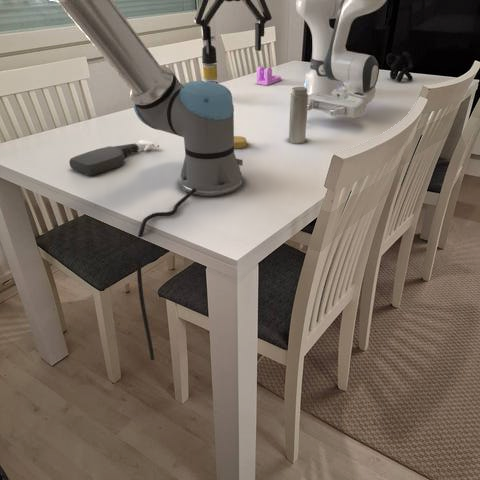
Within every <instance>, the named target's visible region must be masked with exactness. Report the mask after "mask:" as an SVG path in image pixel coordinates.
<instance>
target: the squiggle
mask: <svg viewBox="0 0 480 480" xmlns="http://www.w3.org/2000/svg"><path fill="white" fill-rule="evenodd" d="M401 57H402V59H401ZM391 59H392V60H391ZM393 60H394V61H393ZM385 61H386V64H387V67H390V68H391V70H390V72H389V78H390V79H391V80H395V79H396V81H397V82H399V83H400V82H402V81H403V79H404V76H406V78H407V80H408V81H412V80H413V79H414V77H413V75H412V74H411V73H410V72H409V71H410V70H412V69H413V68H414V64H413V61H412V57H411V54H410V53H409V52H408V51H403V53H402V54H401V55H396V54H394V53H392V52H390V53H387V55H386V57H385ZM406 62H407V65H408V66H407V67H405V66H404V65H405V64H406ZM400 70H401V71H400Z"/></svg>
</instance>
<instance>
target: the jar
mask: <svg viewBox="0 0 480 480" xmlns="http://www.w3.org/2000/svg"><path fill="white" fill-rule="evenodd" d="M307 106H308V93H307V88H305V86H294V87H291V93H290V102H289V124H288V125H289V126H288V142H289V143H291V144H304V143H305V142H306V136H307V122H308V121H307V120H308V110H307Z"/></svg>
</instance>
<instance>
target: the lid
mask: <svg viewBox="0 0 480 480" xmlns="http://www.w3.org/2000/svg"><path fill="white" fill-rule="evenodd" d="M247 144H248V143H247V138H246V137H244V136H241V135H240V136H239V135H236V136H235V135H234V149H243V148H245V147H247Z"/></svg>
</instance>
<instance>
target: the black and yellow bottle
mask: <svg viewBox="0 0 480 480" xmlns="http://www.w3.org/2000/svg"><path fill="white" fill-rule="evenodd" d="M207 26H210V23H209V24H208V25H207ZM211 48H212V54H208V53H207V50H206V45H204V46H202V49H201V50H202V51H201V52H202V54H201V55H202V57H201V58H202V61H201V63H202V71H203V72H202V73H203V74H202V75H203V81H206V82H214V83H218V84H219V82H218V81H216V80H218V64H216V63H218V61H217V48H216V47H215V46H214V45H212V44H211Z"/></svg>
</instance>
